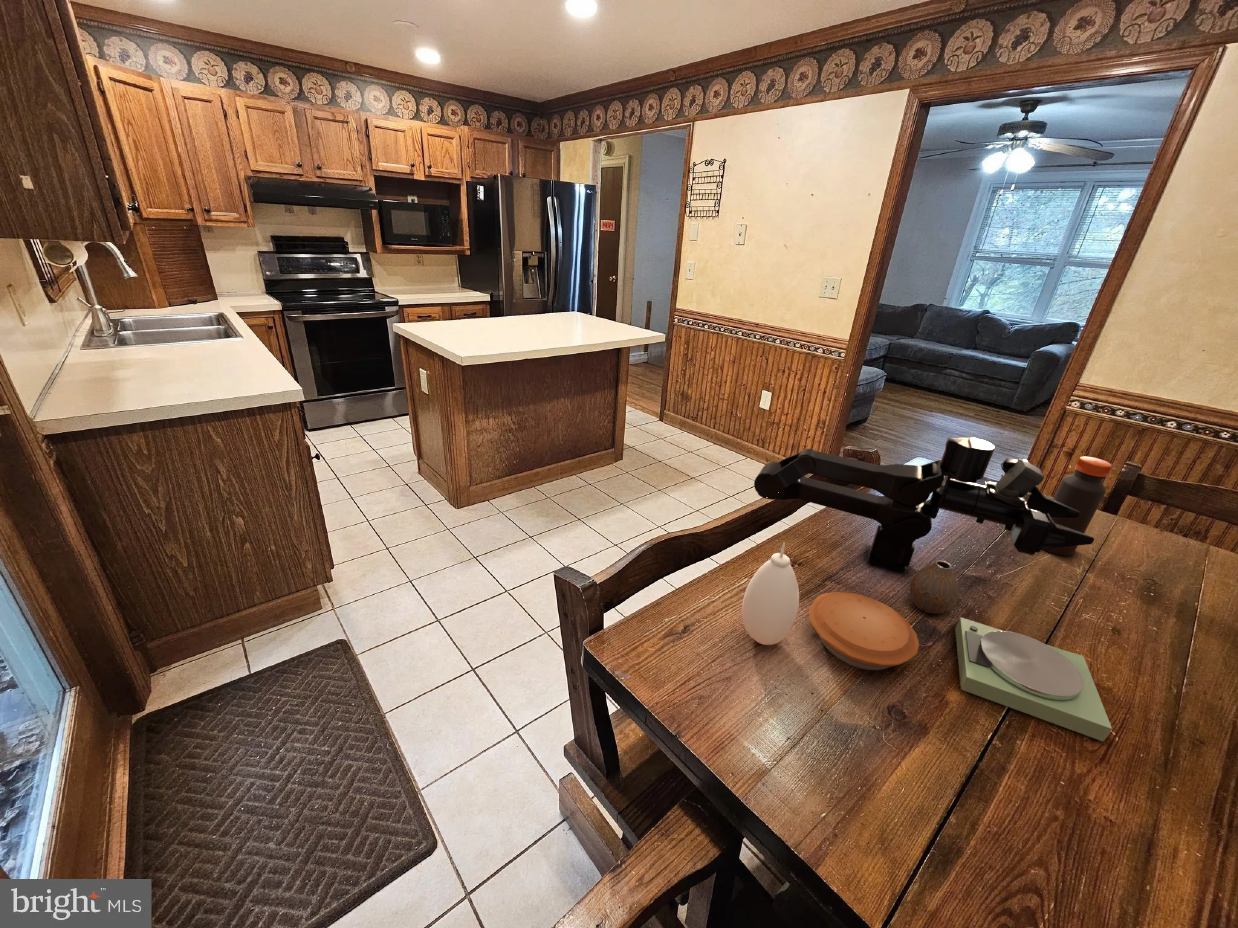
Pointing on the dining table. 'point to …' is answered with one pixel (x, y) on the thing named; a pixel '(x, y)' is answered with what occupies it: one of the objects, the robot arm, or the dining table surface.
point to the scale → (985, 682)
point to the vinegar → (1081, 496)
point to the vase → (934, 588)
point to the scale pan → (1031, 665)
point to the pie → (862, 630)
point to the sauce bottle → (771, 600)
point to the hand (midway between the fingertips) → (1085, 527)
